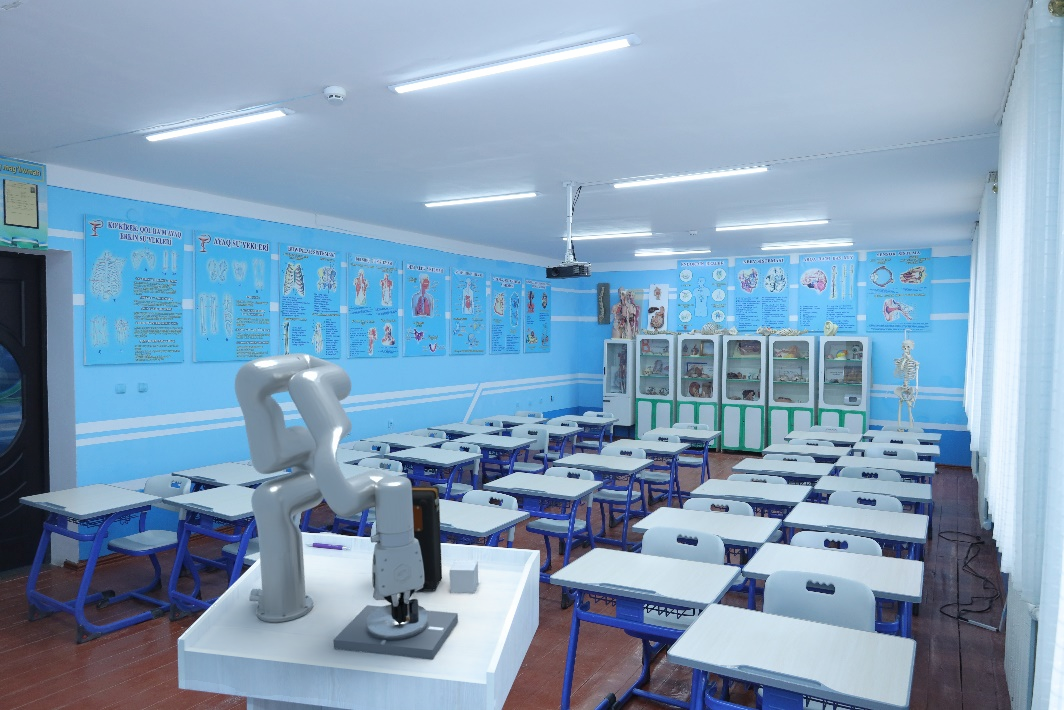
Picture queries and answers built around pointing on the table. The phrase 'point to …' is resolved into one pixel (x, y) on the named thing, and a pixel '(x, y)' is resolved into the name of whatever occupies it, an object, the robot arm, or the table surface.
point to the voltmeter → (427, 532)
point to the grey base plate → (414, 646)
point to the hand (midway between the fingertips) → (400, 620)
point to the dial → (389, 629)
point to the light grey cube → (463, 576)
